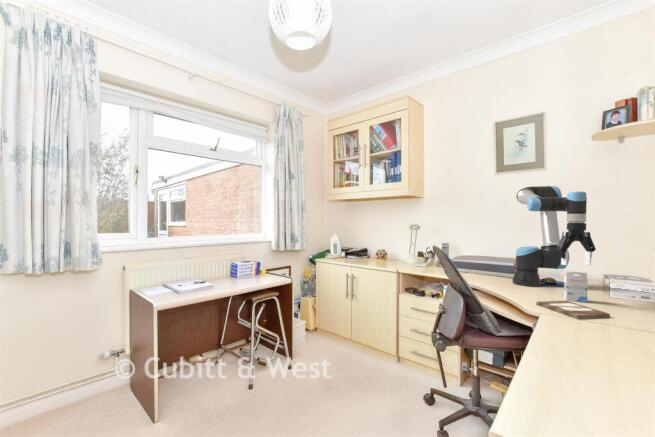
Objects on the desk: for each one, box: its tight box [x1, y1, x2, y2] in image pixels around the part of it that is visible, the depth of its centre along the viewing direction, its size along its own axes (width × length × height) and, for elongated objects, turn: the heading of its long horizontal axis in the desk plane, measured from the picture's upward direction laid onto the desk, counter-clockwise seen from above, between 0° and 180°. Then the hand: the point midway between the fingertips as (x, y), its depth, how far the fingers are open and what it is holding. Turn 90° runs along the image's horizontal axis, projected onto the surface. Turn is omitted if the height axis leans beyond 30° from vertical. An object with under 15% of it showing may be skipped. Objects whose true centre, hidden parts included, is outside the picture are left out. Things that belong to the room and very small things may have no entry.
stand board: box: [535, 299, 611, 320], centre depth 135 cm, size 20×16×2 cm
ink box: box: [563, 271, 588, 303], centre depth 151 cm, size 9×5×15 cm, turn 62°
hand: (576, 264), depth 151 cm, fingers open, 13 cm apart
